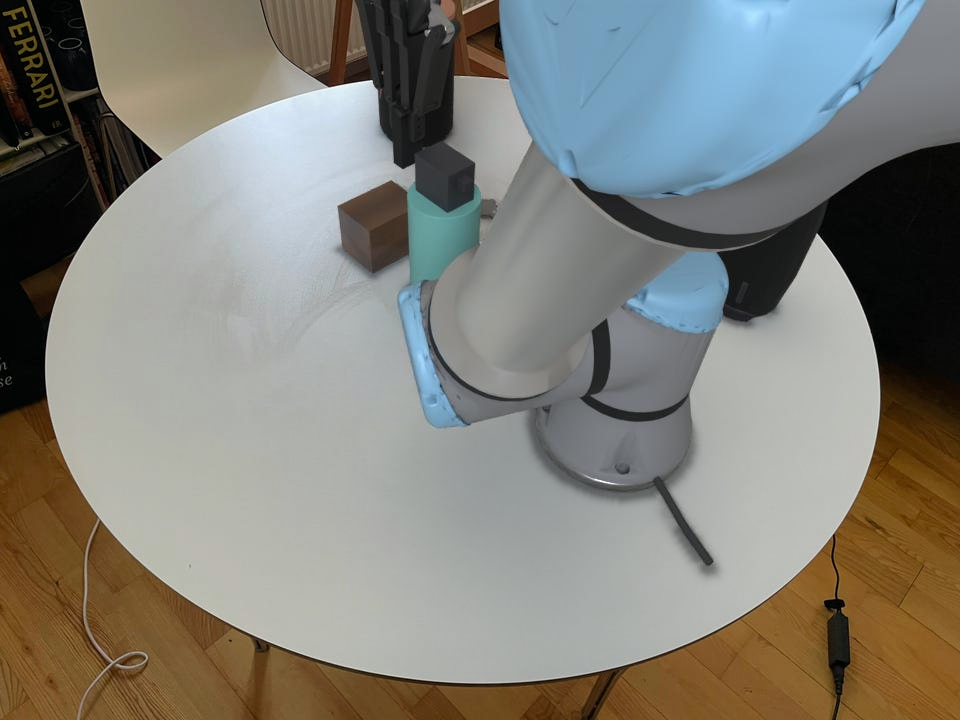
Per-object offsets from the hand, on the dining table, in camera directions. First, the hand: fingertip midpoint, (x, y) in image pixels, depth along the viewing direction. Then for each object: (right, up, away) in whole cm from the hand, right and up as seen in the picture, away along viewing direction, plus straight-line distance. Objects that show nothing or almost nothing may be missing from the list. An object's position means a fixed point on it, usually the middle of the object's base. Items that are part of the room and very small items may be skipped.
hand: (408, 161), depth 79 cm
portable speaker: (+38, -14, +10) cm, 42 cm away
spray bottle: (0, -10, +10) cm, 15 cm away
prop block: (-4, -7, +14) cm, 16 cm away
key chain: (+13, -3, +18) cm, 22 cm away
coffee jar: (-2, +13, +31) cm, 34 cm away
